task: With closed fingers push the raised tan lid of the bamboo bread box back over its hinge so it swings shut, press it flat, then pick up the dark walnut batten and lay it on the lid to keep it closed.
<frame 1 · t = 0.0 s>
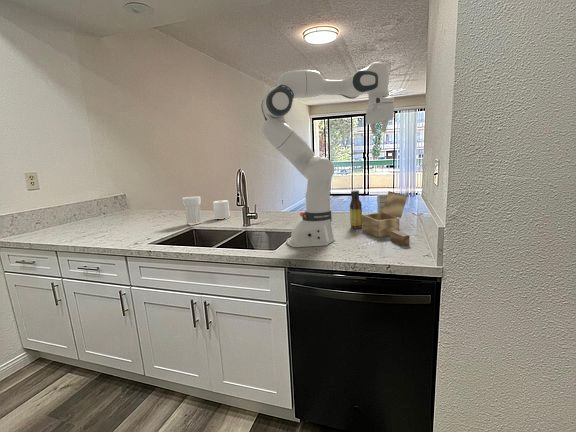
hand: (378, 132, 151), 48 cm above the worktop, fingers open, 8 cm apart
bread box: (380, 232, 162), on the worktop
lid: (394, 204, 161), point 13 cm above the worktop, hinge at 108.9°
supplement box: (386, 225, 175), on the worktop
cup: (194, 224, 211), on the worktop
sauce bottle: (356, 227, 175), on the worktop
walnut batten: (399, 243, 142), on the worktop
white tapered cylinder: (222, 218, 224), on the worktop
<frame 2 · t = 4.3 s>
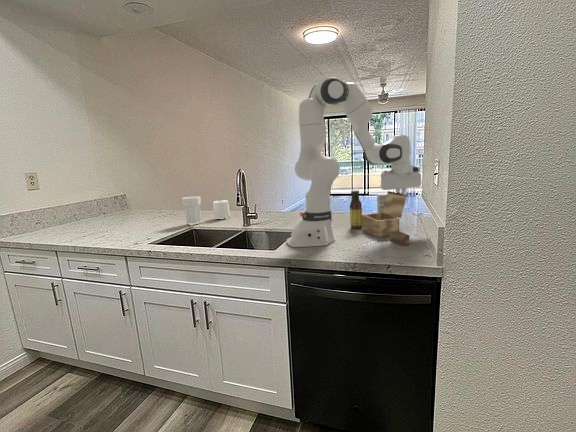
hand: (400, 197, 161), 16 cm above the worktop, fingers closed
lid: (394, 204, 161), point 14 cm above the worktop, hinge at 107.0°, touching gripper
everything else where it was.
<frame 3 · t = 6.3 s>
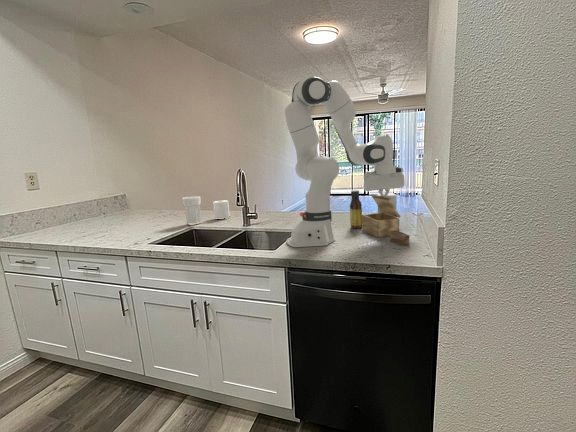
hand: (384, 198, 159), 17 cm above the worktop, fingers closed
lid: (385, 205, 160), point 13 cm above the worktop, hinge at 56.7°, touching gripper
everything else where it was.
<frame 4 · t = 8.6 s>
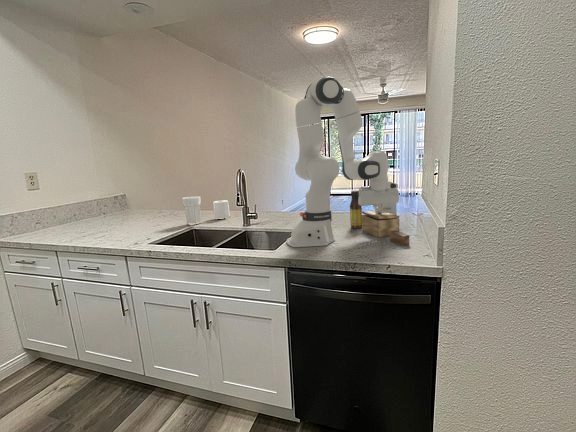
hand: (378, 213, 160), 10 cm above the worktop, fingers closed
lid: (379, 214, 160), point 9 cm above the worktop, hinge at 2.9°
everything else where it was.
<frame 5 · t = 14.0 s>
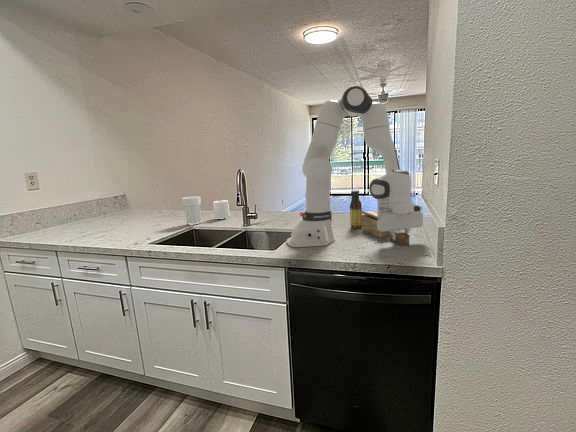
hand: (399, 239, 142), 2 cm above the worktop, fingers closed on walnut batten, 3 cm apart
walnut batten: (399, 242, 143), on the worktop, touching gripper
everything else where it was.
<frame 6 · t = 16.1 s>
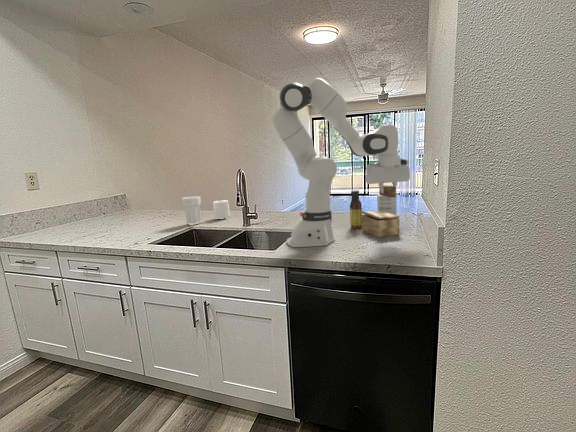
hand: (387, 192, 149), 21 cm above the worktop, fingers closed on walnut batten, 3 cm apart
walnut batten: (387, 195, 150), point 19 cm above the worktop, touching gripper
everything else where it was.
when the fingers open (12 cm above the worktop, at t = 18.6 s): walnut batten stays where it is, resting on lid.
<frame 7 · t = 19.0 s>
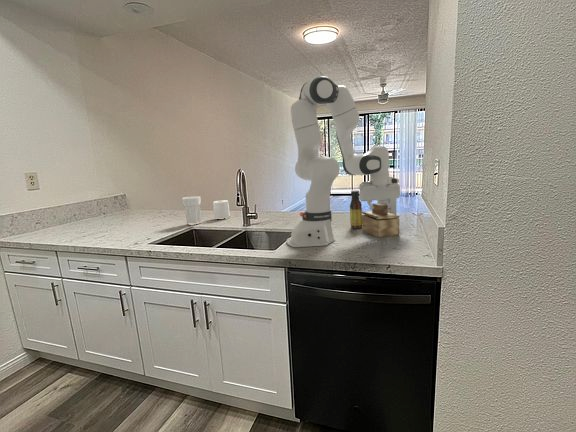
hand: (379, 208, 160), 12 cm above the worktop, fingers open, 7 cm apart
lid: (379, 214, 160), point 9 cm above the worktop, hinge at 2.3°, touching walnut batten
walnut batten: (379, 213, 160), point 9 cm above the worktop, touching lid
everything else where it was.
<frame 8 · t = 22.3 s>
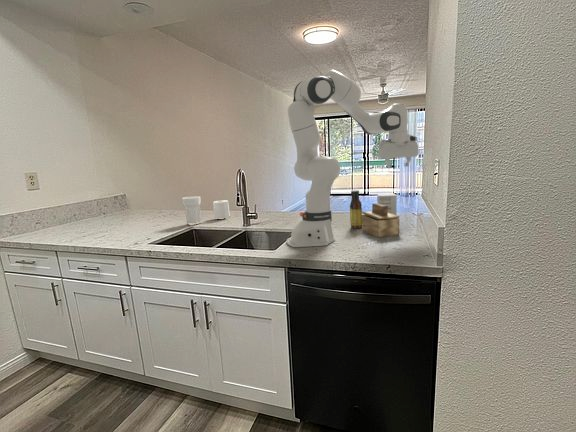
hand: (398, 167, 162), 31 cm above the worktop, fingers open, 8 cm apart
nothing on the worktop moved.
at the end: lid at +2° (first picture: +109°); walnut batten inside the target area on the bread box (0.3 cm from its centre), point 9.3 cm above the bread box's base; the gripper is holding nothing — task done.
